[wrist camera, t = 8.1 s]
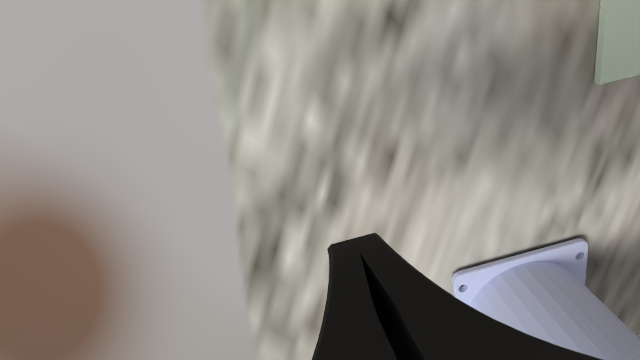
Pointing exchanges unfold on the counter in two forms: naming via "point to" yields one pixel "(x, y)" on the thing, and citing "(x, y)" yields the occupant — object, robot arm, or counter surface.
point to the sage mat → (618, 41)
